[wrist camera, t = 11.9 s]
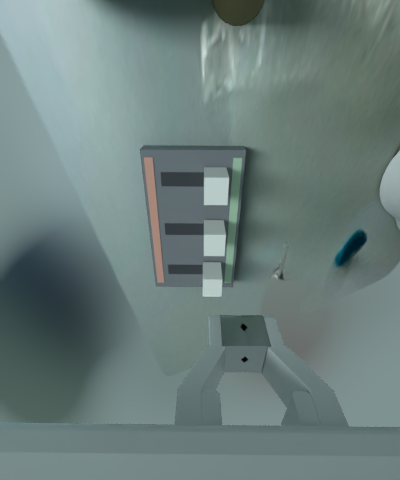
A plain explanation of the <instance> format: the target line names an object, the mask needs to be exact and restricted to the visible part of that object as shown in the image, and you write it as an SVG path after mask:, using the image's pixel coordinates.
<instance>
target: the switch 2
mask: <svg viewBox="0 0 400 480" xmlns="http://www.w3.org/2000/svg"><path fill="white" fill-rule="evenodd" d="M221 294H222V270H221V262H203V296H206V297H221Z"/></svg>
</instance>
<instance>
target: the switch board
mask: <svg viewBox="0 0 400 480" xmlns="http://www.w3.org/2000/svg"><path fill="white" fill-rule="evenodd" d="M140 155H141V163H142V172H143V180H144V189H145V197H146V206H147V214H148V223H149V231H150V240H151V248H152V257H153V266H154V274H155V283H156V286H170V287H203V262H221V270H222V287H233V280H234V270H235V260H236V249H237V239H238V229H239V218H240V208H241V198H242V187H243V177H244V167H245V156H246V149H245V148H244V146H143V147H142V148H141V149H140ZM204 167H226V168H227V172H228V175H229V189H228V204H227V205H204ZM204 220H224V226H225V232H226V241H225V256H204Z"/></svg>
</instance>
